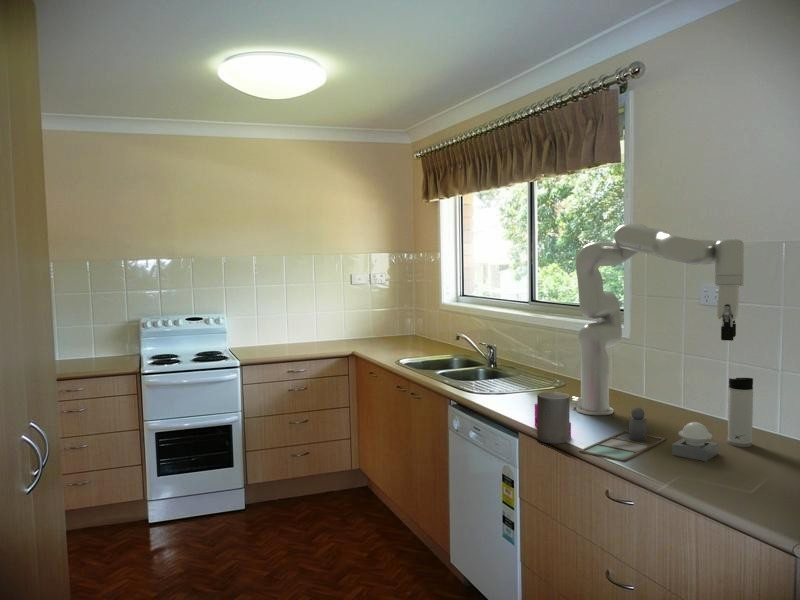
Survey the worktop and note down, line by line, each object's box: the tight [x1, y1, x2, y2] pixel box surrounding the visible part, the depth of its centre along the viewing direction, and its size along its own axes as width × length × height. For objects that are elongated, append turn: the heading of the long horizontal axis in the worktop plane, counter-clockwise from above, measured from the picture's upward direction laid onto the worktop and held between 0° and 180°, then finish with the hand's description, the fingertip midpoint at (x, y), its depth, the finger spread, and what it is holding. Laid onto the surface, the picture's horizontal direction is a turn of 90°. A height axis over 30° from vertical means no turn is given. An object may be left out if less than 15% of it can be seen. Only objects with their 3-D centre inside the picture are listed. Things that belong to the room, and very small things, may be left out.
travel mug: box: [727, 377, 754, 448], centre depth 186 cm, size 6×7×20 cm
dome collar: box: [671, 437, 719, 462], centre depth 178 cm, size 9×9×3 cm
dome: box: [678, 421, 713, 448], centre depth 178 cm, size 8×8×7 cm
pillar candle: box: [536, 391, 571, 444], centre depth 194 cm, size 10×10×15 cm
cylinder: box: [628, 406, 647, 443], centre depth 193 cm, size 5×5×10 cm
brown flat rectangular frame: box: [579, 430, 667, 463], centre depth 187 cm, size 13×28×1 cm, turn 135°
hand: (728, 338), depth 191 cm, fingers open, 9 cm apart
